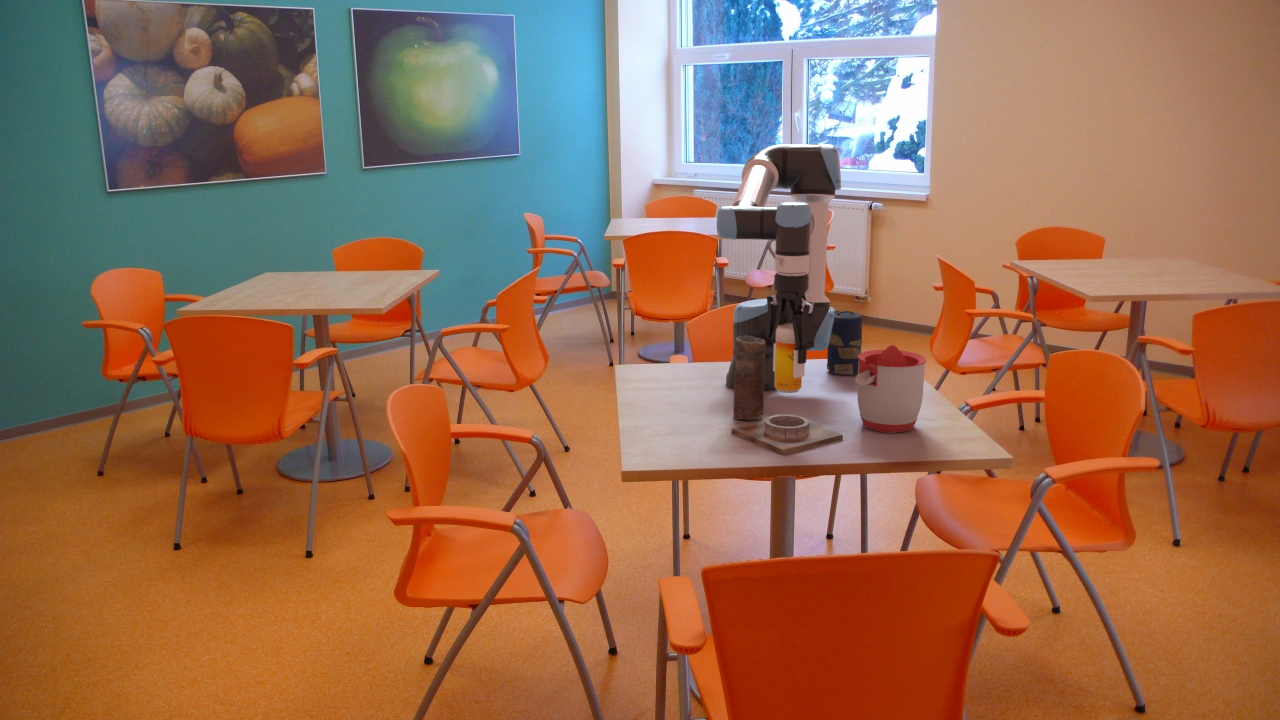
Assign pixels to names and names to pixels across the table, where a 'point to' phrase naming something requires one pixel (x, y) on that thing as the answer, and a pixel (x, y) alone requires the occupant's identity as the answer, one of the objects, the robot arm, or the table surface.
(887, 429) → the citrus juicer
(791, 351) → the beer can
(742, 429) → the can holder
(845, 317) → the canister
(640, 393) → the table surface
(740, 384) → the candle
